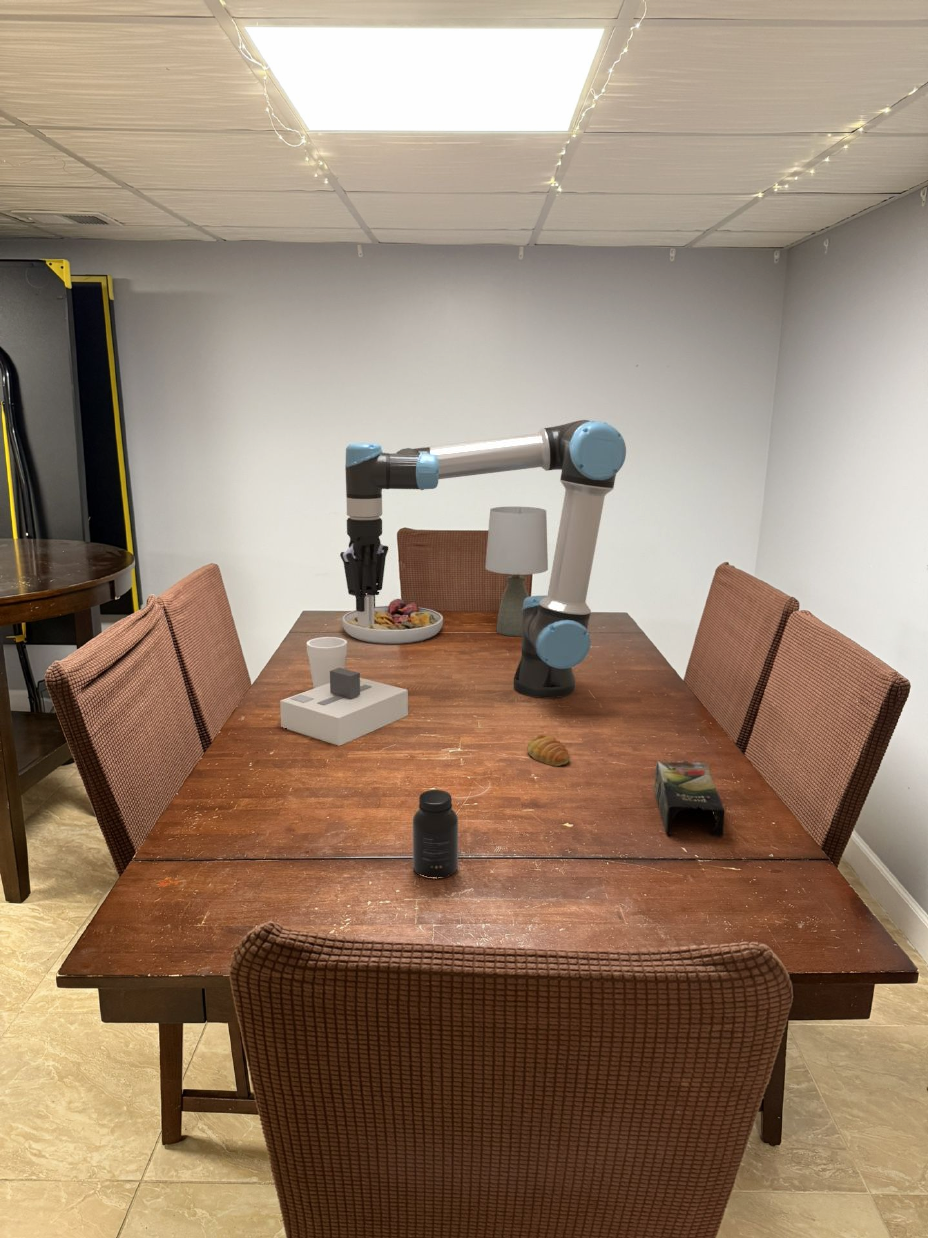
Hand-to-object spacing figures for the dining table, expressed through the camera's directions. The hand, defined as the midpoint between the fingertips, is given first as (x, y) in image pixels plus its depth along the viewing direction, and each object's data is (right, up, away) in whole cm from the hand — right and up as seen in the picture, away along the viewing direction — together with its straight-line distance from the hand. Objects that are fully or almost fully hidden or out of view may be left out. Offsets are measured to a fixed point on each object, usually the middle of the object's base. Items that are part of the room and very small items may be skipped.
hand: (365, 624), depth 192 cm
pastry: (+38, -27, -17) cm, 50 cm away
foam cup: (-11, -17, +16) cm, 26 cm away
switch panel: (-4, -21, 0) cm, 22 cm away
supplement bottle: (+17, -37, -59) cm, 72 cm away
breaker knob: (-4, -15, -2) cm, 16 cm away
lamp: (+37, -3, +74) cm, 82 cm away
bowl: (0, -3, +71) cm, 72 cm away
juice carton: (+60, -33, -39) cm, 79 cm away
